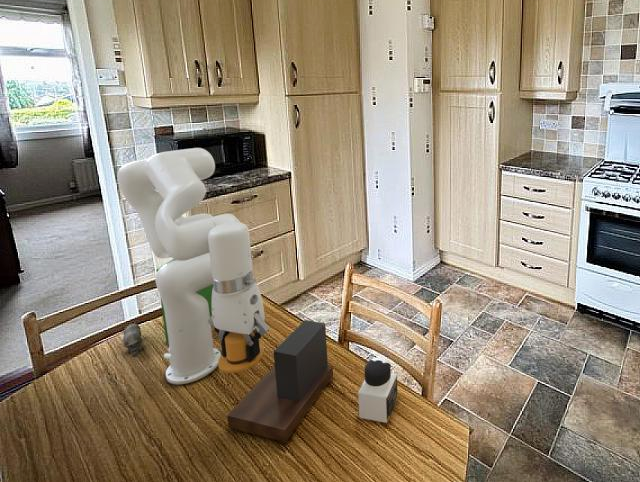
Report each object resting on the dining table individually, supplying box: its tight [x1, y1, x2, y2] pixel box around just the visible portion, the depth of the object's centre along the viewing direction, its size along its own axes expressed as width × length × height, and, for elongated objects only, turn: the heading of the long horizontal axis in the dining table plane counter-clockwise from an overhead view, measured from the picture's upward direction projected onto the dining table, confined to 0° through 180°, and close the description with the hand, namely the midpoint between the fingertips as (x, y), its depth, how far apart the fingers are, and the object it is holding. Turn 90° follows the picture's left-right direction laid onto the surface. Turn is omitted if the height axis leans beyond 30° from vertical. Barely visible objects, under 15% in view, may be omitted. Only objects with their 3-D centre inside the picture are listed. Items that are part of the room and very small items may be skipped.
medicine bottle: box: [357, 356, 399, 424], centre depth 89 cm, size 7×7×12 cm
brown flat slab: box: [226, 364, 334, 444], centre depth 91 cm, size 15×19×4 cm
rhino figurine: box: [122, 323, 143, 358], centre depth 108 cm, size 4×14×6 cm, turn 42°
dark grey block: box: [273, 319, 329, 401], centre depth 92 cm, size 6×12×12 cm, turn 166°
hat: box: [217, 331, 265, 374], centre depth 83 cm, size 9×9×6 cm
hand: (241, 354), depth 83 cm, fingers closed on hat, 5 cm apart
